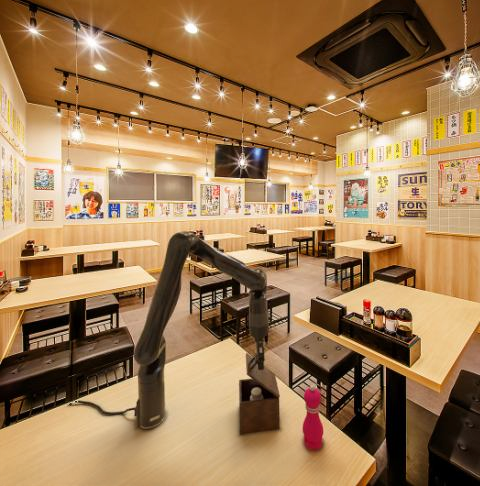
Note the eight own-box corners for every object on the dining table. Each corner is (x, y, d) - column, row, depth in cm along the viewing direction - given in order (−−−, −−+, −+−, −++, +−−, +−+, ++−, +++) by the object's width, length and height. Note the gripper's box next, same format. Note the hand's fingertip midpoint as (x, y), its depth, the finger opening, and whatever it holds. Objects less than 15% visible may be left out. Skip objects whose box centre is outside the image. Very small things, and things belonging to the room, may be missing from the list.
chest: (239, 434, 92) (239, 403, 92) (239, 407, 105) (239, 379, 105) (279, 429, 95) (279, 398, 94) (274, 403, 107) (274, 375, 107)
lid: (246, 374, 92) (255, 363, 93) (245, 354, 105) (253, 344, 105) (278, 398, 94) (287, 387, 95) (273, 375, 107) (281, 365, 107)
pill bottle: (250, 409, 103) (250, 386, 102) (264, 409, 102) (263, 386, 102) (249, 421, 97) (248, 396, 97) (263, 421, 97) (262, 396, 97)
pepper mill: (310, 455, 85) (309, 396, 84) (298, 437, 91) (298, 382, 90) (327, 445, 88) (327, 388, 87) (315, 429, 94) (314, 376, 94)
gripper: (248, 314, 105) (249, 355, 106) (249, 331, 91) (251, 378, 92) (266, 312, 106) (267, 352, 107) (270, 329, 92) (272, 375, 93)
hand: (260, 364), depth 99 cm, fingers closed on lid, 5 cm apart
